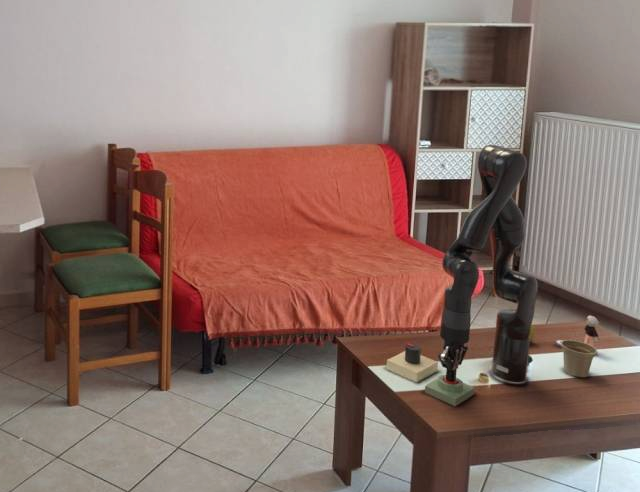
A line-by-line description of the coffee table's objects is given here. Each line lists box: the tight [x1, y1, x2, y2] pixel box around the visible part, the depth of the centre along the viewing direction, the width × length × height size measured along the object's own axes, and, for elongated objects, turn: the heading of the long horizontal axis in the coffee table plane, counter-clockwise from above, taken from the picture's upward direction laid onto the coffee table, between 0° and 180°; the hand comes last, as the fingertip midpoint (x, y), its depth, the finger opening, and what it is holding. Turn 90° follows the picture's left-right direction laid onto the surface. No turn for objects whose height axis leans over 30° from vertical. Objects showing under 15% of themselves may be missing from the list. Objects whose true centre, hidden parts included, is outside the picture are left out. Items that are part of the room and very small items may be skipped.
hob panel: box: [385, 350, 439, 383], centre depth 212 cm, size 12×10×3 cm
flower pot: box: [560, 339, 598, 378], centre depth 212 cm, size 9×9×9 cm
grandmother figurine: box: [583, 315, 600, 348], centre depth 226 cm, size 8×4×13 cm, turn 5°
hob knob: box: [404, 342, 422, 364], centre depth 211 cm, size 4×4×5 cm
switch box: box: [424, 374, 476, 407], centre depth 198 cm, size 11×9×4 cm
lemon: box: [530, 324, 535, 342], centre depth 232 cm, size 6×6×8 cm
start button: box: [444, 377, 457, 384], centre depth 198 cm, size 4×4×2 cm
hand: (450, 380), depth 198 cm, fingers closed
